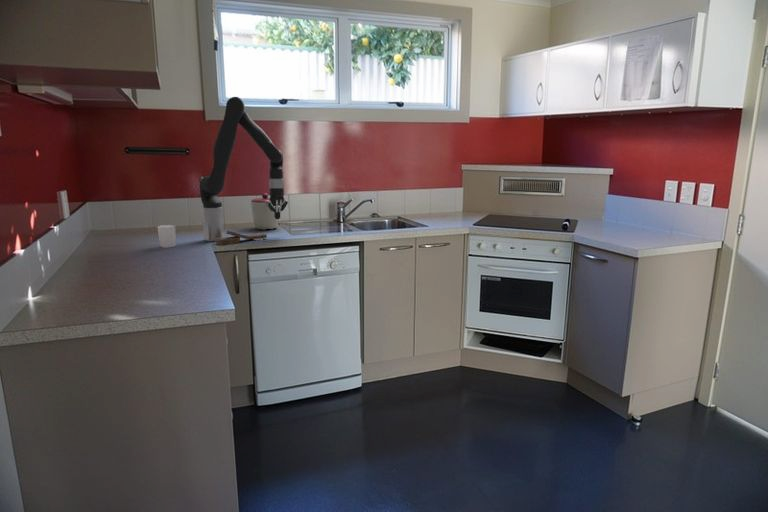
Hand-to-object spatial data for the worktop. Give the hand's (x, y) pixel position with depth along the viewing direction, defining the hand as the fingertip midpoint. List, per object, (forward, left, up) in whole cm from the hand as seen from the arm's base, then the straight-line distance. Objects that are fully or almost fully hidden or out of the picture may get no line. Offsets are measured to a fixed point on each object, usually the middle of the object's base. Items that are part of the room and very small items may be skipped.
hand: (277, 219), depth 279 cm
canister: (+9, +27, -10) cm, 30 cm away
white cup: (-56, +12, -10) cm, 58 cm away
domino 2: (-25, 0, -9) cm, 27 cm away
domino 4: (-9, -1, -8) cm, 12 cm away
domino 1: (-24, 0, -8) cm, 26 cm away
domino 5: (-14, -5, -10) cm, 18 cm away
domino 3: (-20, 0, -8) cm, 21 cm away
